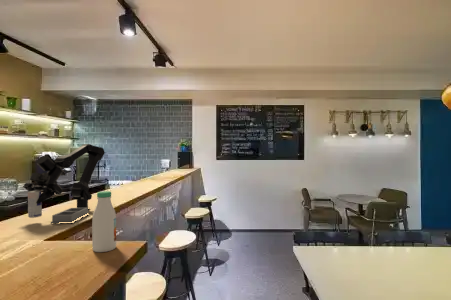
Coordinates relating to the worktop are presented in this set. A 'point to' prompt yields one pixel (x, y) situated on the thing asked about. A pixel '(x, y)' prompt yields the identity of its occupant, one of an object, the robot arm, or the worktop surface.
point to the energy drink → (34, 204)
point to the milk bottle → (104, 224)
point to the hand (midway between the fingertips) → (32, 203)
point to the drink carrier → (69, 215)
